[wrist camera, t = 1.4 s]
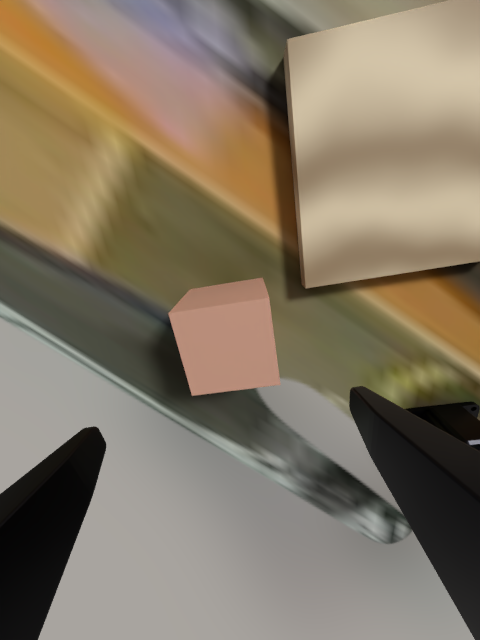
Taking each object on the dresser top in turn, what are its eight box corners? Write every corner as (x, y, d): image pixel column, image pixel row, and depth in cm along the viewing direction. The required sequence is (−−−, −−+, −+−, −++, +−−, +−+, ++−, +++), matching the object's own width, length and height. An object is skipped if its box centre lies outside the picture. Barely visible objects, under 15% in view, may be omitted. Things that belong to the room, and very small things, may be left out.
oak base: (488, 254, 18) (508, 256, 17) (301, 284, 20) (305, 288, 18) (536, -3, 13) (569, -29, 12) (283, 57, 15) (287, 39, 13)
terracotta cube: (271, 343, 22) (280, 384, 16) (205, 352, 22) (192, 395, 17) (262, 277, 20) (268, 297, 14) (190, 289, 20) (168, 313, 14)
